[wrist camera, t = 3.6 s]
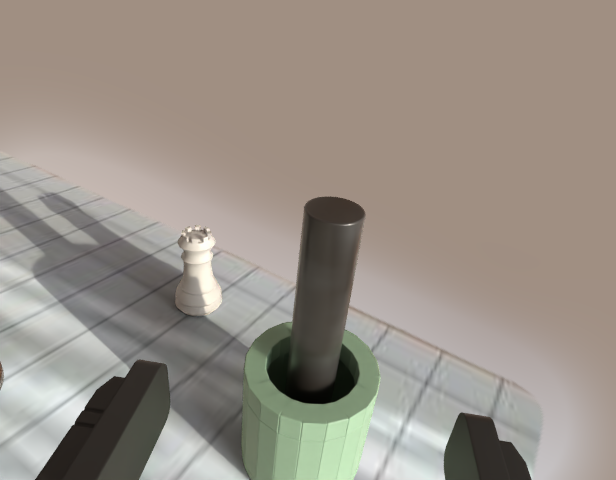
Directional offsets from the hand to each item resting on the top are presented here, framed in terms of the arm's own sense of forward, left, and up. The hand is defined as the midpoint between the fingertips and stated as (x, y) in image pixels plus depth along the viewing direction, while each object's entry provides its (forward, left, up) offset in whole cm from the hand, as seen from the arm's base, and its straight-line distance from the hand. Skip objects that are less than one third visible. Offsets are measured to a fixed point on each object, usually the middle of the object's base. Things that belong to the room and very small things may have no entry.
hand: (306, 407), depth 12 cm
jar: (-2, +11, -18) cm, 21 cm away
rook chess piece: (-16, +22, -18) cm, 33 cm away
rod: (-2, +11, -17) cm, 21 cm away
